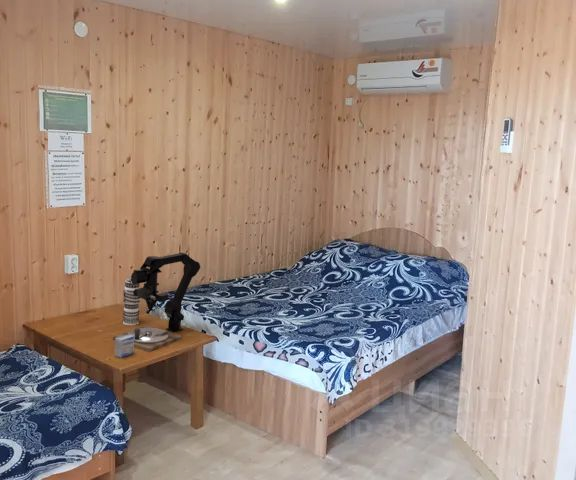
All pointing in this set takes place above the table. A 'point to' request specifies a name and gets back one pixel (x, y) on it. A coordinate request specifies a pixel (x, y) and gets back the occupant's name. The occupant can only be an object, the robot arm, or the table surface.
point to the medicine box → (124, 346)
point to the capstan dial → (148, 335)
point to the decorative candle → (130, 303)
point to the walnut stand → (153, 346)
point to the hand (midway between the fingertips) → (150, 310)
